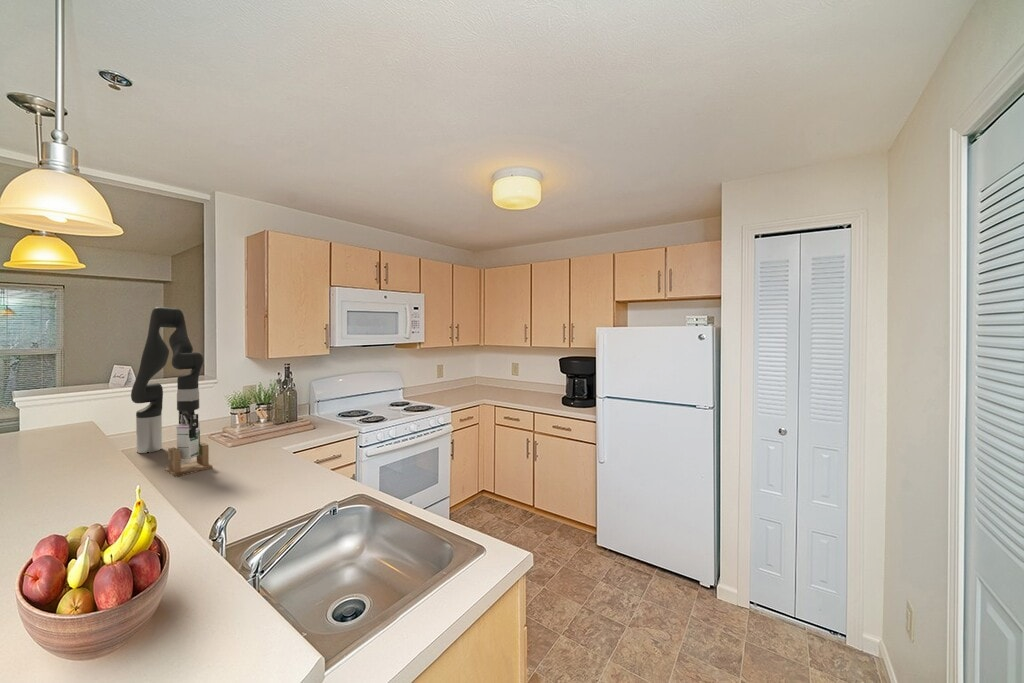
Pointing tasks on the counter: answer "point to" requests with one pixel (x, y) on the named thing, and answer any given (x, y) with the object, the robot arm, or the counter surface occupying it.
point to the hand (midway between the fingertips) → (188, 436)
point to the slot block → (178, 469)
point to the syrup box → (188, 442)
